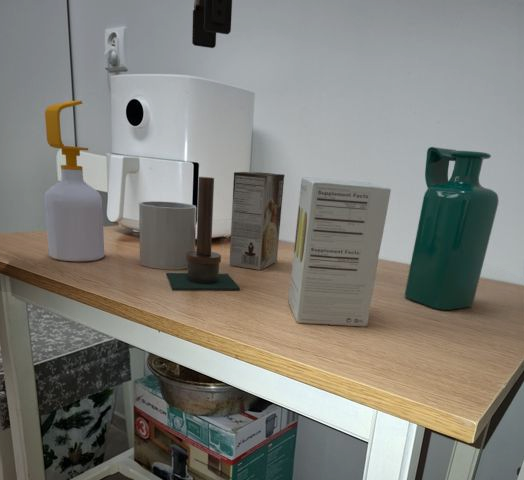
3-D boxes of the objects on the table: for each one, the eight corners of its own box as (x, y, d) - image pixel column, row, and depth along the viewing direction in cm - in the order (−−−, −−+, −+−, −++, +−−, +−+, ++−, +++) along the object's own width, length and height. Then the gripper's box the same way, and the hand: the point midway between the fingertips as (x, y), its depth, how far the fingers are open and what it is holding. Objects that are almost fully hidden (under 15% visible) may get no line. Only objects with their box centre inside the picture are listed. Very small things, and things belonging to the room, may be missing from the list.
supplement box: (286, 301, 69) (299, 176, 62) (350, 305, 70) (369, 181, 63) (296, 324, 60) (312, 180, 54) (368, 327, 61) (393, 186, 55)
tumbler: (141, 269, 80) (140, 206, 76) (138, 257, 88) (137, 200, 84) (198, 270, 83) (200, 209, 79) (190, 258, 91) (191, 203, 87)
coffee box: (246, 257, 96) (252, 171, 90) (277, 262, 94) (285, 174, 88) (227, 265, 88) (233, 171, 82) (261, 270, 86) (268, 174, 80)
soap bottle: (114, 259, 85) (109, 103, 76) (64, 264, 79) (52, 94, 70) (88, 250, 91) (80, 103, 81) (39, 254, 84) (25, 95, 75)
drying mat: (172, 290, 70) (172, 287, 69) (166, 275, 78) (166, 272, 77) (240, 290, 72) (240, 288, 72) (227, 275, 80) (227, 273, 80)
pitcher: (478, 307, 74) (517, 152, 66) (442, 312, 70) (479, 148, 62) (427, 290, 82) (457, 150, 74) (392, 294, 78) (419, 145, 69)
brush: (188, 284, 72) (190, 177, 66) (183, 275, 76) (185, 175, 71) (222, 284, 73) (228, 179, 68) (216, 276, 78) (220, 177, 72)
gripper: (175, -105, 63) (173, 47, 70) (194, -184, 48) (190, 20, 54) (231, -92, 65) (224, 54, 72) (267, -164, 50) (255, 31, 56)
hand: (210, 39), depth 63 cm, fingers open, 9 cm apart
